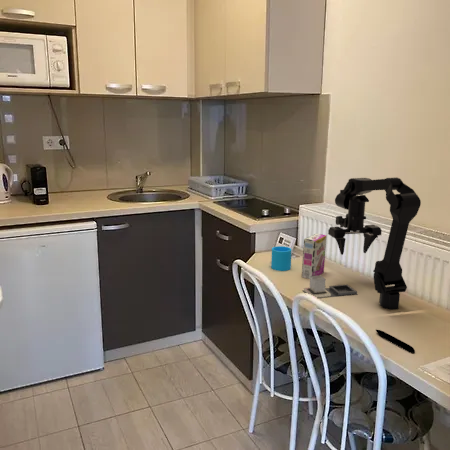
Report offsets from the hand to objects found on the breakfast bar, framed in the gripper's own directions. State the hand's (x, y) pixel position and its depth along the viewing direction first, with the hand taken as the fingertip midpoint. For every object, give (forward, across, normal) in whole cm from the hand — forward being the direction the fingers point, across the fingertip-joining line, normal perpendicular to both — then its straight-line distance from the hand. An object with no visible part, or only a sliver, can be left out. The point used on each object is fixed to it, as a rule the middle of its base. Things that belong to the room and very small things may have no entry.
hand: (353, 253), depth 172 cm
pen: (+13, +10, +43) cm, 46 cm away
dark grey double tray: (+12, +12, +7) cm, 19 cm away
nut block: (+12, +17, +7) cm, 22 cm away
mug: (+13, +19, -27) cm, 35 cm away
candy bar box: (+13, +10, -12) cm, 20 cm away
